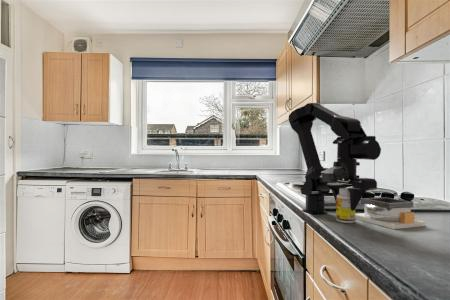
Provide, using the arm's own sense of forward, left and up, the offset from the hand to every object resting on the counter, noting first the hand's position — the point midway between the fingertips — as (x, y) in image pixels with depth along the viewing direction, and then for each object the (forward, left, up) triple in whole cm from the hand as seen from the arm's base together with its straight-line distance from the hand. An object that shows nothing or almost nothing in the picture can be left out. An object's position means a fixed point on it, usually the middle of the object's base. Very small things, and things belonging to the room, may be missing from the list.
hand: (345, 208), depth 99 cm
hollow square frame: (+5, +13, -3) cm, 14 cm away
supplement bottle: (0, 0, -4) cm, 4 cm away
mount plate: (+4, +13, -4) cm, 14 cm away
